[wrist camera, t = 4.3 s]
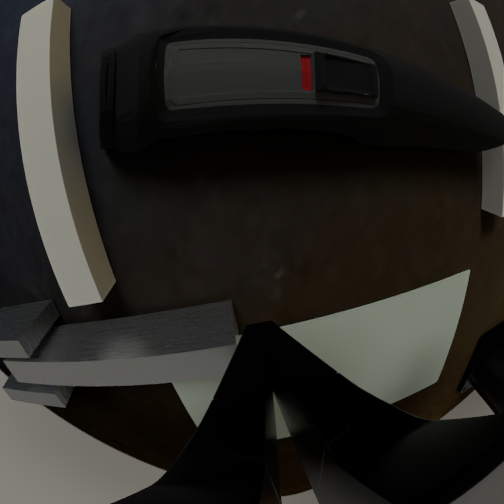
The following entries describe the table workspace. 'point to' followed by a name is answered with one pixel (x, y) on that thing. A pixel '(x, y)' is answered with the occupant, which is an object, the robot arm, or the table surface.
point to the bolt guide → (29, 349)
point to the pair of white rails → (69, 160)
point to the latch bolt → (135, 349)
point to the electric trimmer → (281, 91)
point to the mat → (370, 345)
